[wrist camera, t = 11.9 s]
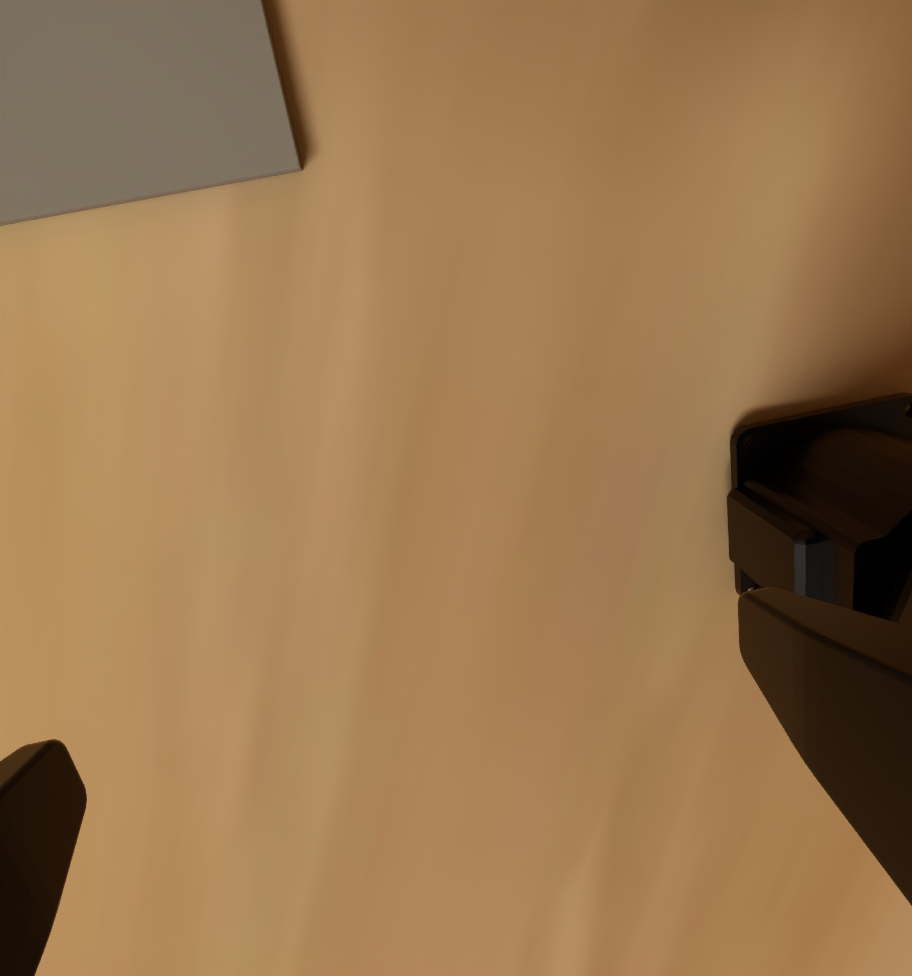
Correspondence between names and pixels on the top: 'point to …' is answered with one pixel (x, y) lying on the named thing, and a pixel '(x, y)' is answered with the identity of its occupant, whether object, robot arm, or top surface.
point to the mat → (135, 102)
